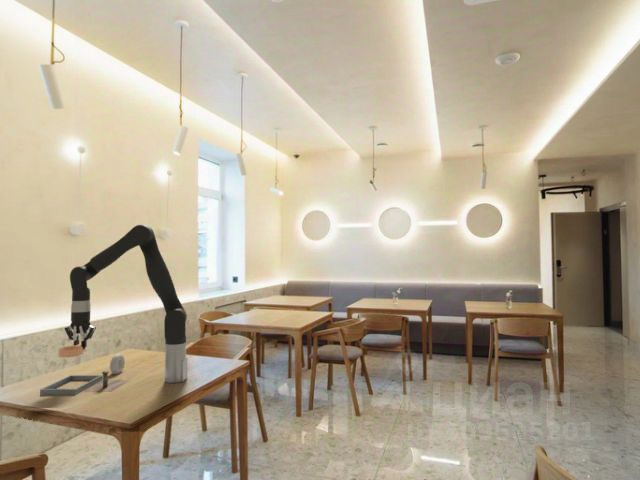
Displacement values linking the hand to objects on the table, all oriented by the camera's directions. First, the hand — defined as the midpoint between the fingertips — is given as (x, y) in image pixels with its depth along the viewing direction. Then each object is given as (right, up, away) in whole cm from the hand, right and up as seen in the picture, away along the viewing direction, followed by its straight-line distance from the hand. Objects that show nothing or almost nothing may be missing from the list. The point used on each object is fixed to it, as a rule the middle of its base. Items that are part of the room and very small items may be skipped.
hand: (80, 348), depth 184 cm
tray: (0, -16, -5) cm, 17 cm away
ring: (0, -1, -5) cm, 5 cm away
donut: (+9, -17, +16) cm, 25 cm away
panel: (+15, -16, -4) cm, 22 cm away
